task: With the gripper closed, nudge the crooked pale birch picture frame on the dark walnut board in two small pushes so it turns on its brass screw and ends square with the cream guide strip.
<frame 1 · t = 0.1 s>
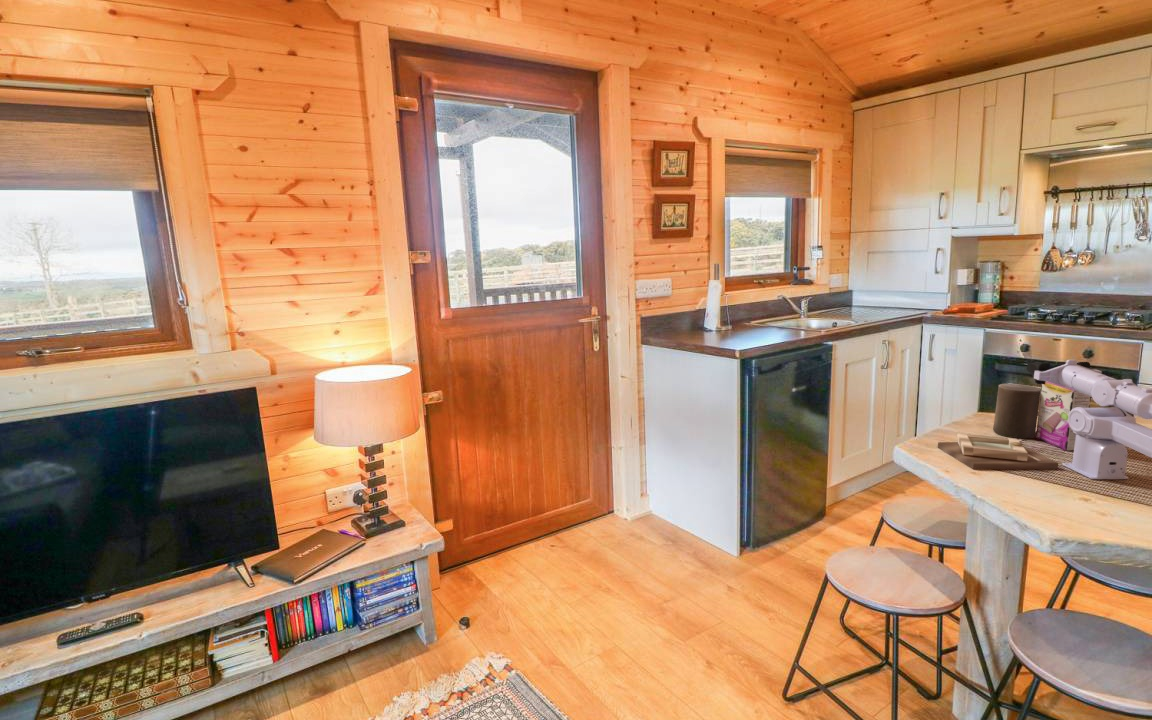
hand: (1043, 366, 154), 22 cm above the table, tool horizontal, fingers open, 7 cm apart
picture frame: (990, 445, 149), point 3 cm above the table, hinge at -22.0°
walnut board: (994, 457, 149), on the table
candy bar box: (1058, 445, 158), on the table
pillar candle: (1014, 434, 167), on the table
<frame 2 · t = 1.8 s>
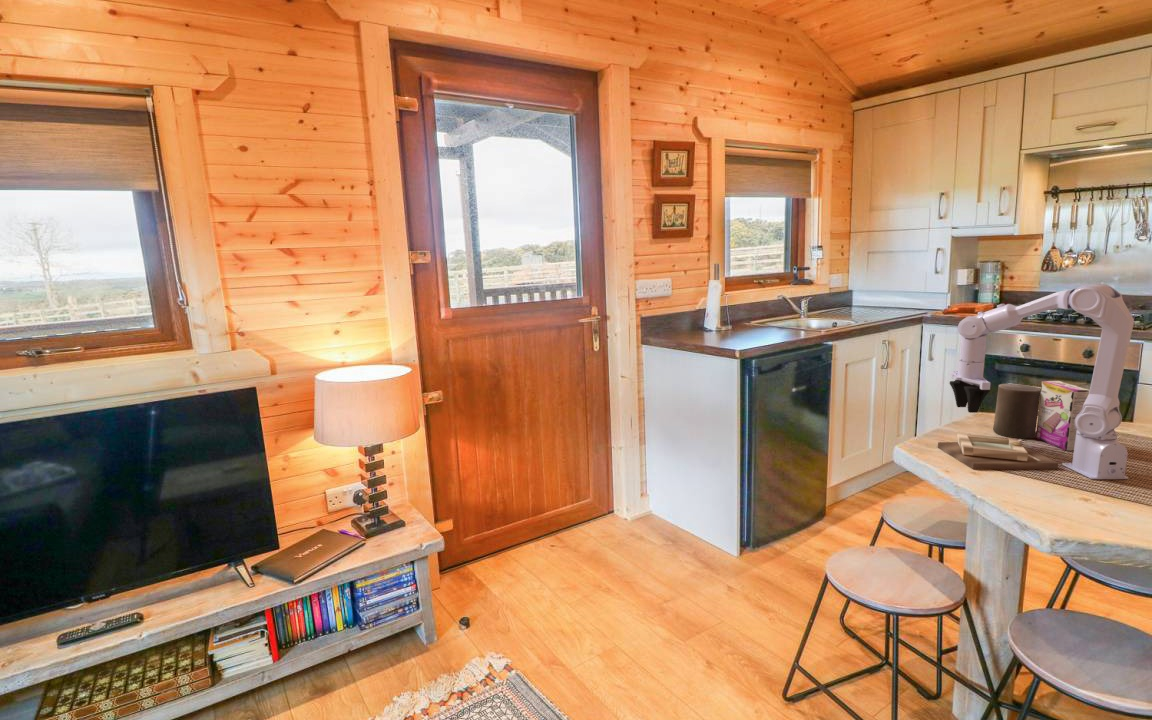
hand: (967, 409, 159), 9 cm above the table, tool pointing down, fingers open, 5 cm apart
nothing on the table moved.
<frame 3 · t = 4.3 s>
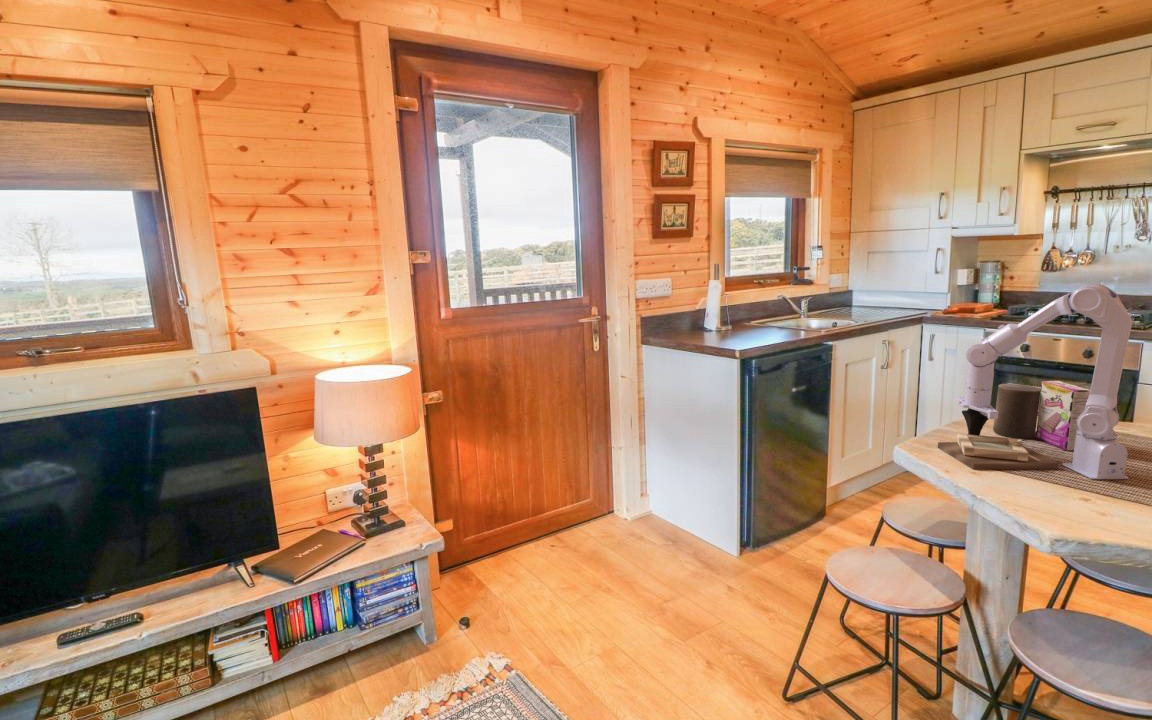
hand: (973, 437, 156), 3 cm above the table, tool pointing down, fingers closed, pressing on picture frame
picture frame: (990, 445, 149), point 3 cm above the table, hinge at -20.8°, touching gripper
everything else where it was.
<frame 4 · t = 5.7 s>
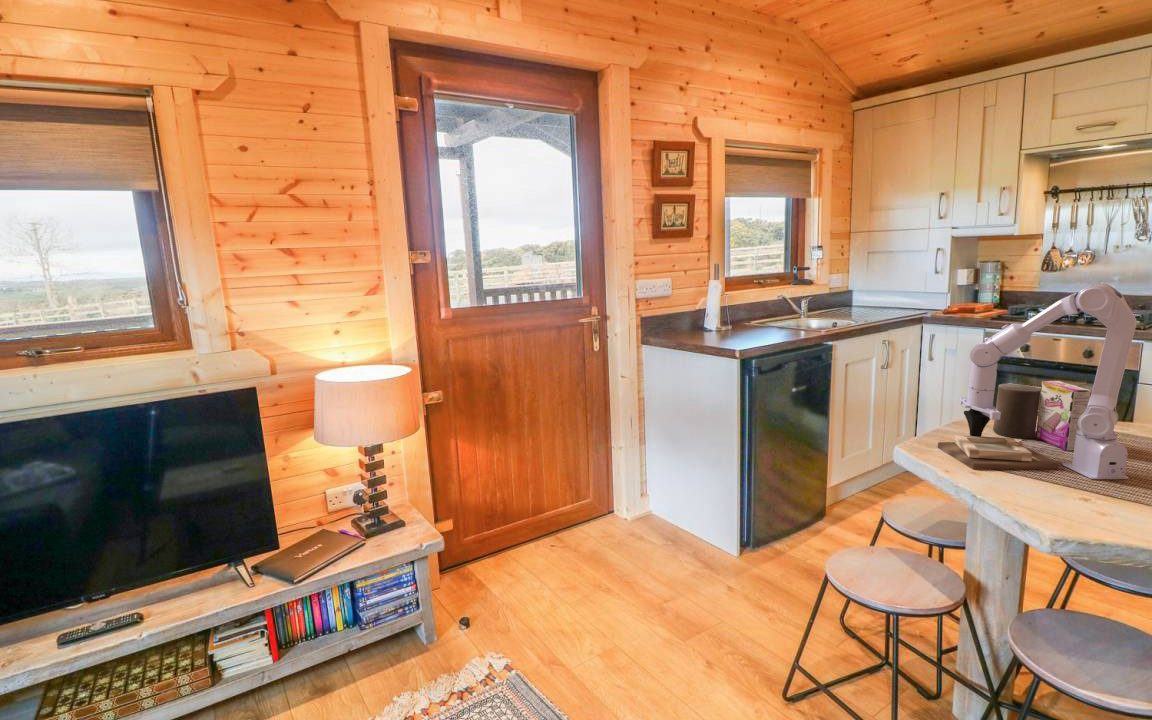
hand: (975, 437, 155), 3 cm above the table, tool pointing down, fingers closed, pressing on picture frame
picture frame: (991, 446, 149), point 3 cm above the table, hinge at -13.5°, touching gripper
everything else where it was.
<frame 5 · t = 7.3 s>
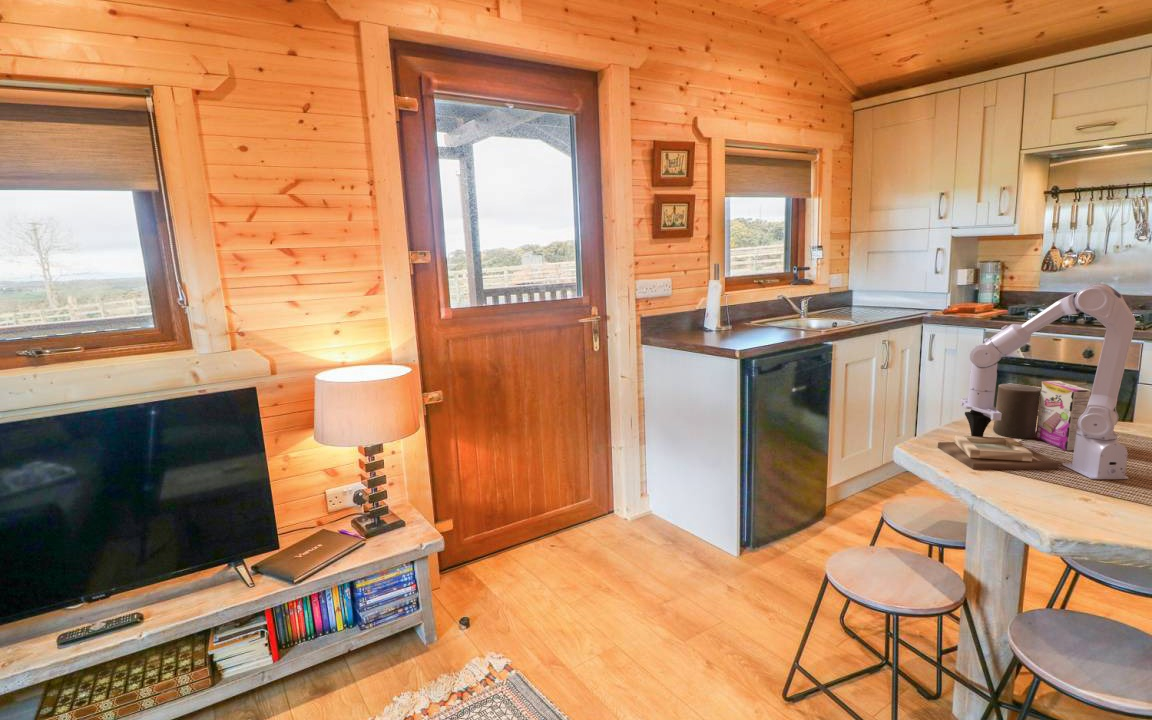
hand: (976, 439, 155), 3 cm above the table, tool pointing down, fingers closed, pressing on picture frame
picture frame: (991, 446, 149), point 3 cm above the table, hinge at -12.4°, touching gripper
everything else where it was.
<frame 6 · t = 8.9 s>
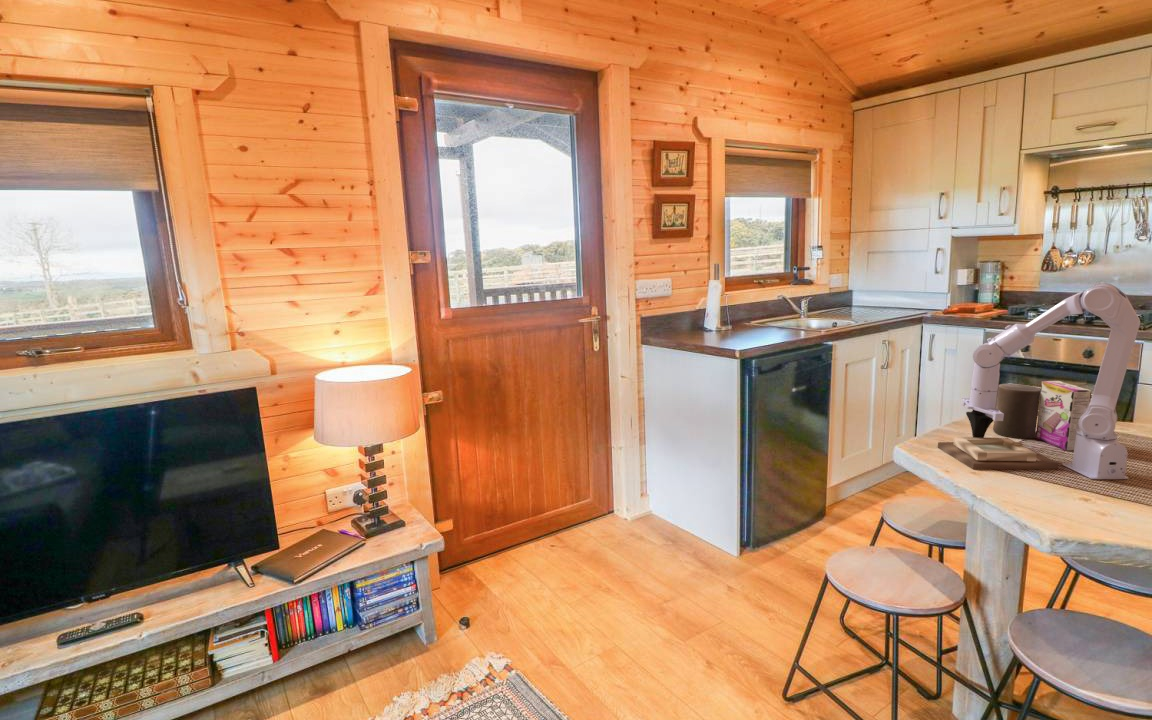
hand: (977, 439, 154), 3 cm above the table, tool pointing down, fingers closed, pressing on picture frame
picture frame: (993, 447, 148), point 3 cm above the table, hinge at -3.8°, touching gripper
everything else where it was.
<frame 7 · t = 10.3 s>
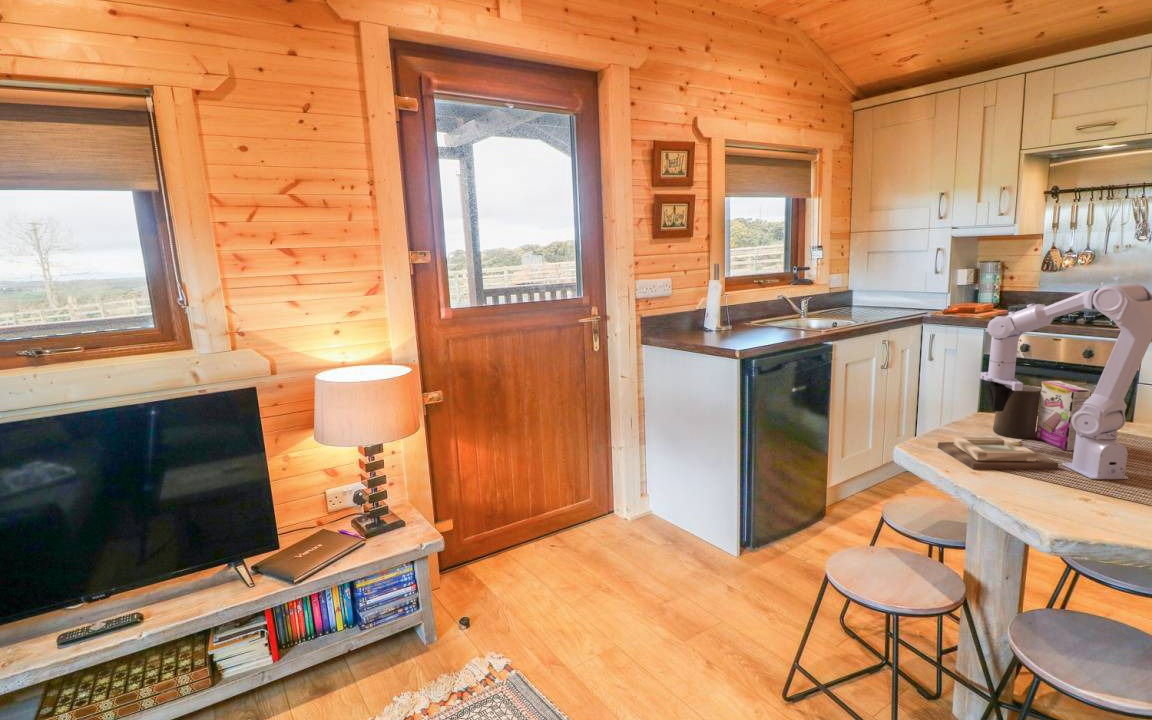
hand: (997, 410, 157), 9 cm above the table, tool pointing down, fingers closed
picture frame: (993, 447, 148), point 3 cm above the table, hinge at -3.8°
everything else where it was.
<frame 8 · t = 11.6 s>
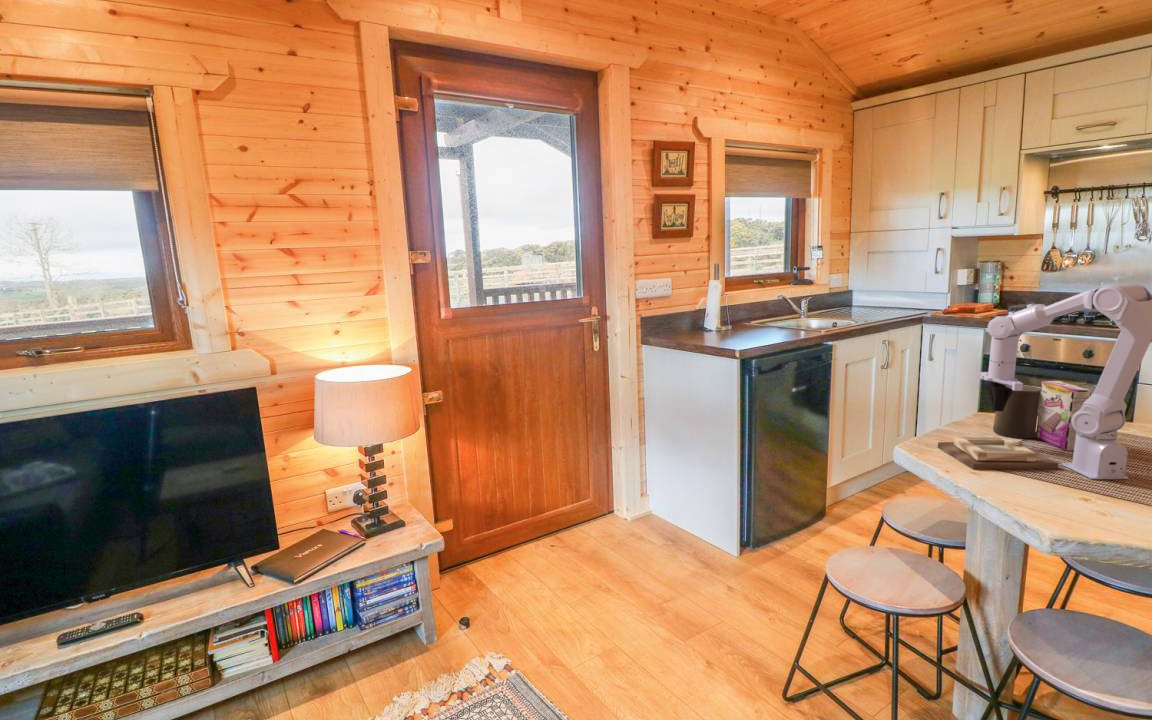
hand: (997, 410, 157), 9 cm above the table, tool pointing down, fingers closed
nothing on the table moved.
at the end: picture frame at -4° (first picture: -22°) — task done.
